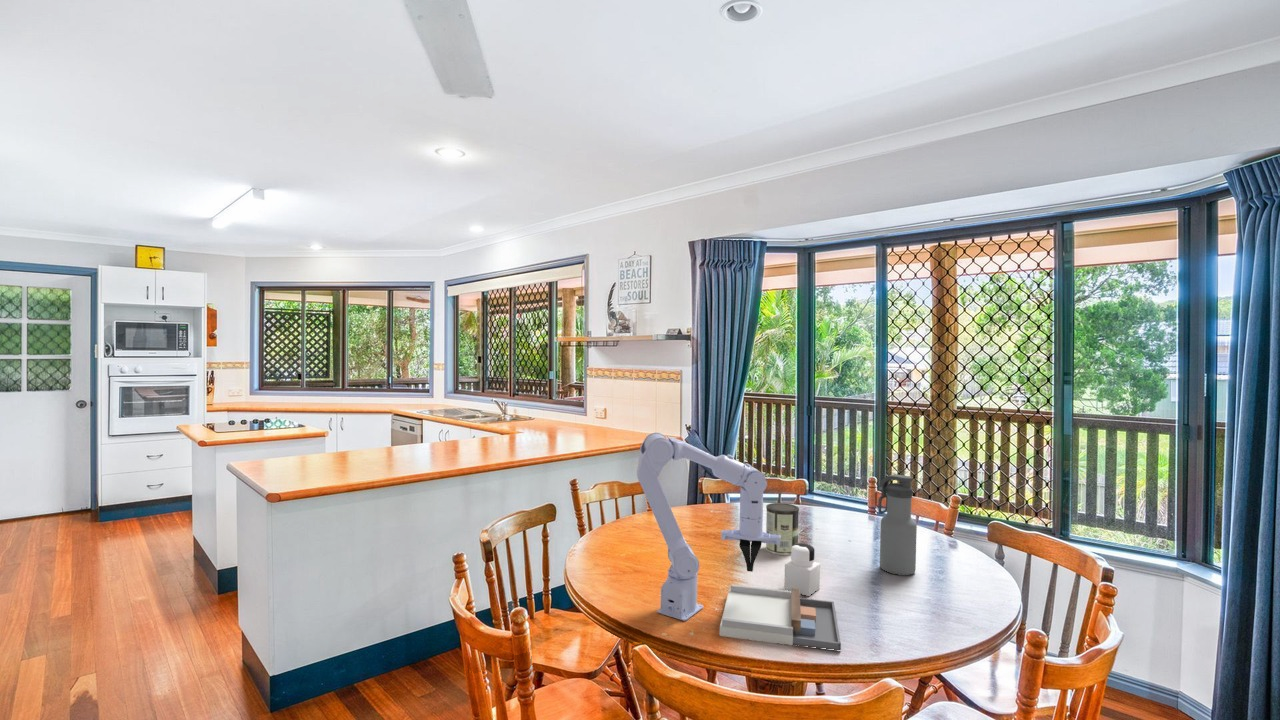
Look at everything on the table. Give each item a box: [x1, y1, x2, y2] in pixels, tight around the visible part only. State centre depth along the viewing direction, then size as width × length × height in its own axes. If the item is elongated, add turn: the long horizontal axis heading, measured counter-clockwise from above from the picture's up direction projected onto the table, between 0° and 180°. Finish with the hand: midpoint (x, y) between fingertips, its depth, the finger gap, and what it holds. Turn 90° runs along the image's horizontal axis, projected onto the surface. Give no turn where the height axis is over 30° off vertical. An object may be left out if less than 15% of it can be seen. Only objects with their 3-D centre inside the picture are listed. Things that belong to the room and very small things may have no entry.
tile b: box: [795, 619, 815, 636], centre depth 138 cm, size 4×4×2 cm
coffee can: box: [765, 502, 800, 556], centre depth 193 cm, size 10×10×14 cm
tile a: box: [800, 606, 816, 622], centre depth 144 cm, size 4×4×2 cm
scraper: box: [791, 588, 801, 632], centre depth 141 cm, size 2×18×2 cm, turn 166°
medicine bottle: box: [783, 542, 821, 597], centre depth 162 cm, size 7×7×12 cm
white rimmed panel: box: [719, 583, 793, 646], centre depth 144 cm, size 16×22×4 cm
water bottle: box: [877, 473, 918, 576], centre depth 177 cm, size 10×10×28 cm
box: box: [793, 597, 842, 650], centre depth 140 cm, size 10×22×2 cm, turn 166°
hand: (750, 570), depth 150 cm, fingers closed
